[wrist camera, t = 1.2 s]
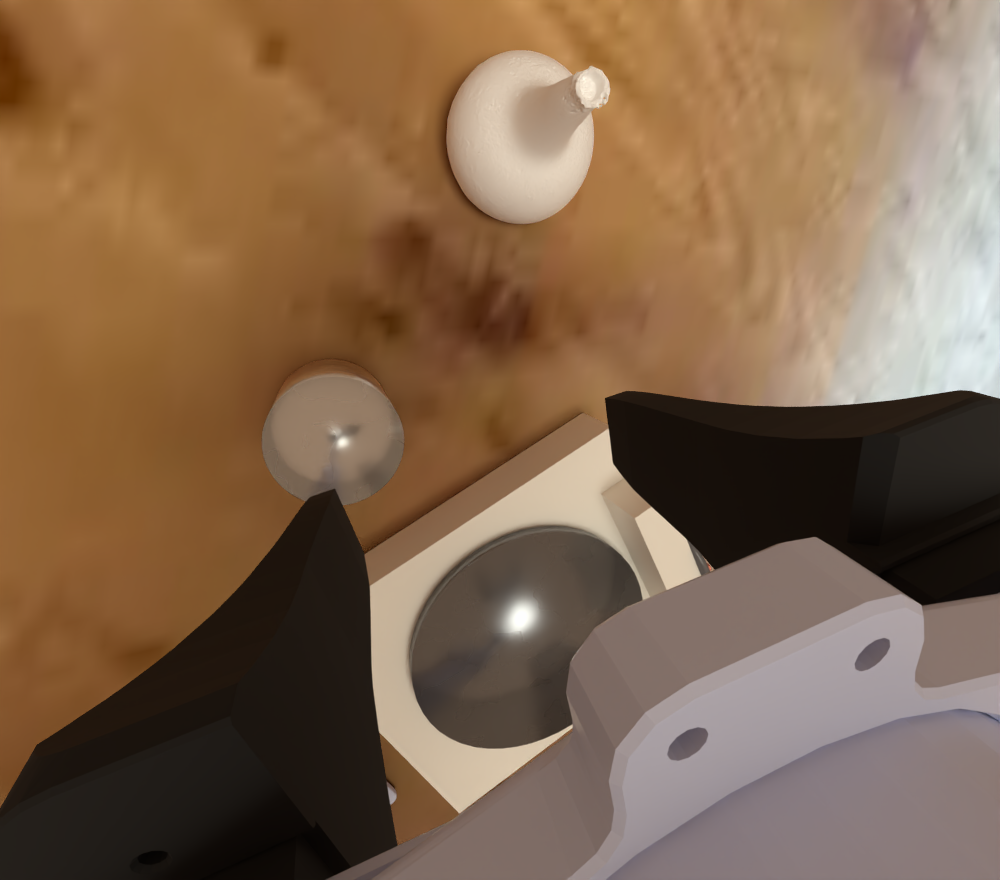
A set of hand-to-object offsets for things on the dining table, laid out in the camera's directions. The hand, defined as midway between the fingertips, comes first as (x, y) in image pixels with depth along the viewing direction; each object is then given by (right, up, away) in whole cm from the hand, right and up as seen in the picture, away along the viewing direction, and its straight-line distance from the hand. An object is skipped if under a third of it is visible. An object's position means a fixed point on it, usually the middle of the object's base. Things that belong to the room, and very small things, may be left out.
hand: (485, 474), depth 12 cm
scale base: (+1, -9, +16) cm, 19 cm away
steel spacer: (-7, +2, +10) cm, 13 cm away
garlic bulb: (+1, +14, +10) cm, 17 cm away
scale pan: (+2, -10, +14) cm, 17 cm away
